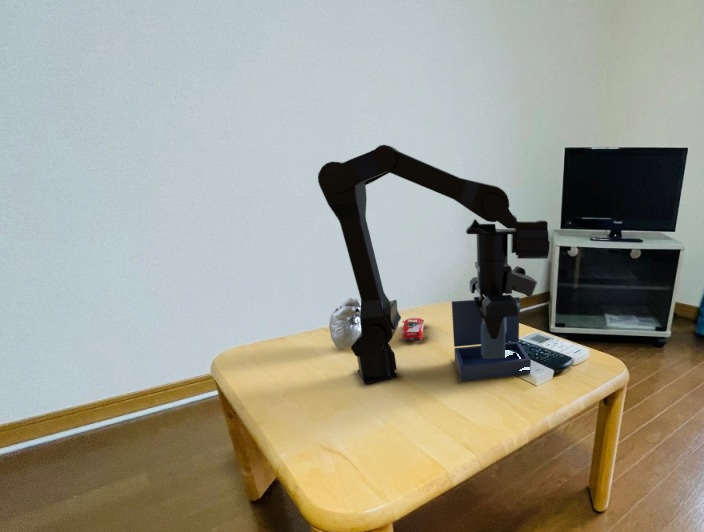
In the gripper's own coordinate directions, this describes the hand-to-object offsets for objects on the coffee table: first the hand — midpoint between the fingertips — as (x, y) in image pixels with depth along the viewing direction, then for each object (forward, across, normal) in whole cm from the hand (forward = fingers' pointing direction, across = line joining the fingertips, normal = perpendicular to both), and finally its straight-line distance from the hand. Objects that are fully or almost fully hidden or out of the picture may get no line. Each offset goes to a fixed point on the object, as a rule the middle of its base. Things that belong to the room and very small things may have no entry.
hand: (492, 336), depth 79 cm
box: (+8, +2, 0) cm, 8 cm away
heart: (+8, +22, +31) cm, 39 cm away
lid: (-1, +6, 0) cm, 6 cm away
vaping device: (+4, -1, 0) cm, 5 cm away
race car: (+8, +26, +15) cm, 31 cm away
